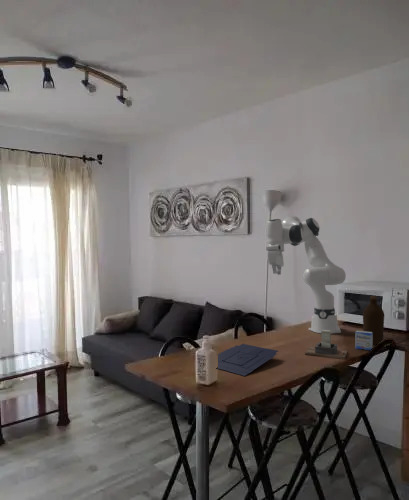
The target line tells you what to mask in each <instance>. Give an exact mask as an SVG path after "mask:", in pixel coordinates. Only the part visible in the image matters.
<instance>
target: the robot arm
mask: <svg viewBox="0 0 409 500" xmlns="http://www.w3.org/2000/svg"><path fill="white" fill-rule="evenodd" d="M319 232H320V225H319V222H318V221H317V220H316V219H315V218H312V217H309V218H307V219H305V220H304V221H301V219H300V218H299V217H298V216H294V215H291V216H288V217H285V218H284V219H283V220H282V219H281V218H276V219H275V218H274V219H268V220H267V222H266V237H267V242H266V248H265V249H266V251H267V260H268V263H269V265H270V266H271V269H272V274H274V275H276V274H277V275H278V276H280V275H281V274H282V267H284V265H285V263H284V255H283V253H284V252H285V245H287V244H290V245H291V246H293V247H296V246H299V245H300V244H302V243H304V248H305V249H304V250H305V253H306V257H307V260H308V262H309V265H311V266H312V267H309V268H306V269H305V270H304V272H303V277H302V278H303V281H304V282H305V283H306V285H308V286H309V287H310V288H311V290H312V293H313V295H314V309H313V313H314V314H313V315H312V316H311V327H308V331H311V332H314V333H318V334H321V331H322V330H330V331H331V335H332V334H340V333H342V331H341V327H340V326H339V323H338V318H337V317H336V315H335V314H336V309H335V296H334V294H333V293H332V292H330V291H329V290H327V289H326V286H337V285H340V284H343V283H344V282H345V280H346V275H347V274H346V272H345V270H344V269H343V267H340V266H338V265H336V264H335V263H334V262H332V261H331V259H330V258H329V257H328V255H327V253H326V250H325V249H324V246H323V244H322V242H321V240H320V239H319V237H318V236H319Z"/></svg>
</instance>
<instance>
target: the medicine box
mask: <svg viewBox="0 0 409 500" xmlns="http://www.w3.org/2000/svg"><path fill="white" fill-rule="evenodd" d="M354 335H355V337H354V338H355V339H354V340H355V341H354V342H355V343H354V345H355V346H354V348H355V349H356V350H362V349H364V350H363V351H372V350H373V349H372V348H374V347H373V346H374V345H373V332H367V331H364V330H356V331H355V334H354ZM371 349H372V350H371Z"/></svg>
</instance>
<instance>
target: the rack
mask: <svg viewBox="0 0 409 500" xmlns="http://www.w3.org/2000/svg"><path fill="white" fill-rule="evenodd" d="M347 354H348V350H346V349H344V350H343V349H338V343H337V344H336V343H331V348H328V347H321V342H317V343H316V345H315V347H314V346H308V349H307V350H306V351H305V352H304V355H305V356H311V357H312V356H313V357H322V358H331V359H339V360H340V359H341V360H345V359H346V357H347Z"/></svg>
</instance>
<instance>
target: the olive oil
mask: <svg viewBox="0 0 409 500" xmlns="http://www.w3.org/2000/svg"><path fill="white" fill-rule="evenodd" d="M362 325H363V328H362V329H363V331H367V332H373V346H377V345H376V344H378V343H379V342H381V341H382V340H383V341H384V331H385V312H384V310H383V309H382V308H381V306H380V305H379V304H378V299H377V296H376V295H370V298H369V304H368V305H367V306H365V307H364V309H363V311H362Z"/></svg>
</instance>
